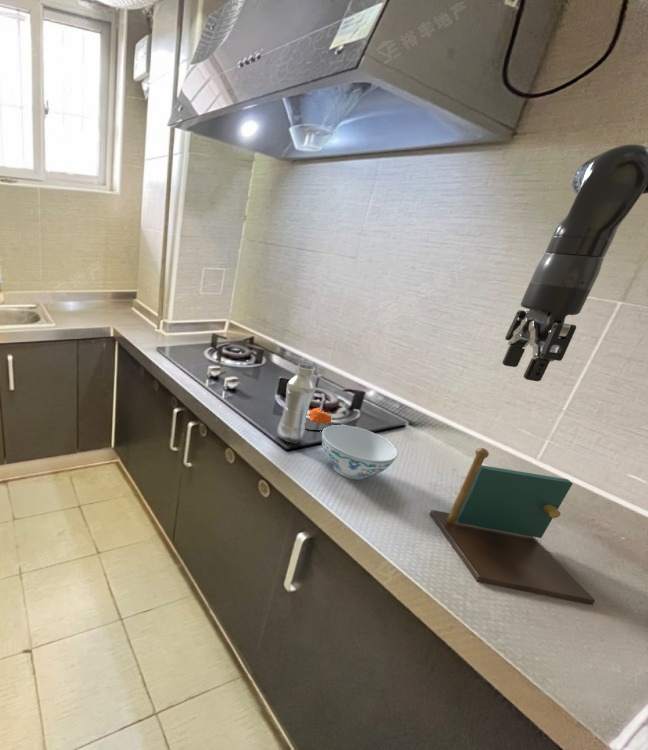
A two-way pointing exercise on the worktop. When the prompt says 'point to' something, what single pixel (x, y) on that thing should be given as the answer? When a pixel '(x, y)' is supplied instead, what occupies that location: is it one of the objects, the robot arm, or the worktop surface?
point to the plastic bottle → (297, 404)
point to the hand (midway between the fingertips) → (519, 372)
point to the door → (513, 501)
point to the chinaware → (357, 451)
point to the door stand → (505, 552)
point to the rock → (319, 416)
